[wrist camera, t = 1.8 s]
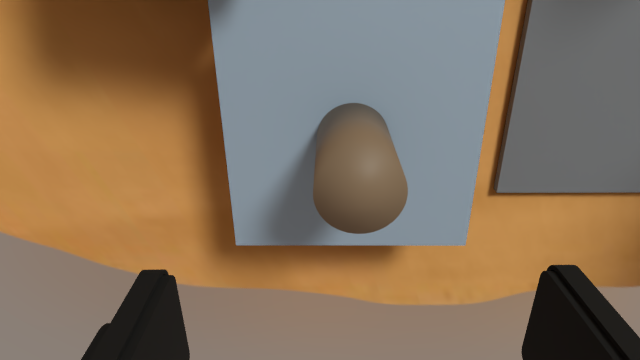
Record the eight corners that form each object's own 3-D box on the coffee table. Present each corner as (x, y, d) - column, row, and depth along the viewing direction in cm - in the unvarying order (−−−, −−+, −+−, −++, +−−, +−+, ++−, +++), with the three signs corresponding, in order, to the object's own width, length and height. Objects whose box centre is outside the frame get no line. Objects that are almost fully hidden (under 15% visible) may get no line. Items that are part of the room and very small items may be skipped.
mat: (801, -46, 23) (812, -46, 23) (703, 188, 30) (709, 192, 29) (535, -42, 24) (540, -43, 23) (493, 188, 30) (496, 192, 29)
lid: (497, -6, 20) (575, 9, 14) (460, 235, 26) (503, 323, 19) (213, -2, 20) (161, 13, 14) (239, 235, 26) (210, 322, 20)
